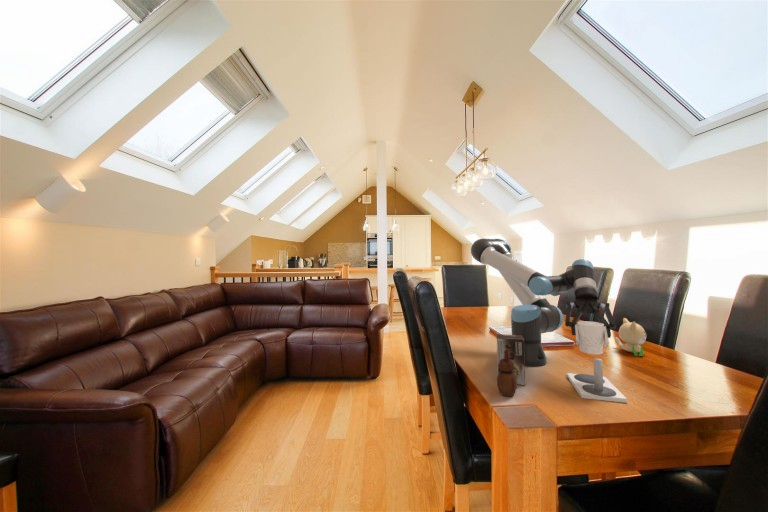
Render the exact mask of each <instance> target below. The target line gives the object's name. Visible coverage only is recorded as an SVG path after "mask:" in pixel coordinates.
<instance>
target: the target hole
mask: <svg viewBox="0 0 768 512" xmlns="http://www.w3.org/2000/svg"><path fill="white" fill-rule="evenodd" d="M576 374H577V375H575V376H574V378H575V379H577V380H579V381H581V382H584V383H589V384H594V374H588V373H576ZM603 383H605V380H604V379H603Z"/></svg>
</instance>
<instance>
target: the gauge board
mask: <svg viewBox="0 0 768 512" xmlns="http://www.w3.org/2000/svg"><path fill="white" fill-rule="evenodd" d="M603 362H604V361H603V359H601V358H597V357H595V358H593V375H594V384H589V383H584V382H581V381H579V380H577V379H575V378H574V376H575V375H577V374H578V373H570V372H566V377H567V378H569V379H568V380H569V382H570V383H571V385H572V386H573V387H574V389H575V391H576V392H577V394H578V395H579V396H580V398H581V399H588V400H598V401H607V402H615V403H626V404H628V398H627V397H626V396H625V395H624V394H623V393H622V392H621V391H620V390H619V389H618V388H617V387H616V386H615V385H614V384H613V383H612V382H611V381H610V380H609V379H608V378H607V377H606V376H604V367H603V366H604V363H603ZM603 379H604V380H605V383H603Z"/></svg>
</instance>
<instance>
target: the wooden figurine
mask: <svg viewBox="0 0 768 512" xmlns="http://www.w3.org/2000/svg"><path fill="white" fill-rule="evenodd" d="M499 368H500V370H501V371H499V373H498V372H497V376H496V377H497V378H496V383H497V388H498V392H499V393H500V394H501V395H502V396H505V397H512V396H514V395H515V394H516V390H517V386H518V385H517V379H516V375H515V373H514V372H513V370H514V363H513V361H512V360H510V359H508V350H506V352H505V355H504V359H501V360H500V362H499Z"/></svg>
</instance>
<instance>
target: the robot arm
mask: <svg viewBox="0 0 768 512" xmlns="http://www.w3.org/2000/svg"><path fill="white" fill-rule="evenodd" d="M511 250H512V248H511V245H510V244H509V243H508V241H506V240H504V239H501V238H479V239H477V240H475V241H474V242H473V243H472V245H471V247H470V253H471V256H472V258H473V259H474V260H475V261H476V262H479V263H480V264H482V265H485V266H486V265H488V266H489V267H490V266H491V267H492V268H493V269H495V270H497V271H498V272H499V273H500V275H501V277H503V279H504V280H505V282H506V283H507V284H508V286H509V287H510V289H511V290H512V292H513V293H514V295H515V296H516V298H517V299H518V301H520V303H521V304H520V305H516V306H513V307H512V309H511V311H510V320H511V335H522V336H523V339H524V355H525V366H526V365H527V366H528V367H541V366H544V365H546V364H547V356H546V352H545V350H544V347H543V345H542V334H546V333H552V332H555V331H557V330H559V329H560V328H561V327H562V326H563V322H565V324H564V325H565V327H568V328H570V331H571V335H572V336H575V345H576V346H580V343H579V336H578V326H577V322H579V321H580V318H581V316H582V315H583V314H593V316H594V317H596V319H597V320H598V322H599V323H603V324H604V345H605V346H604V347H605V348H609V345H610V344H609V339H611V337H612V333H611V330H614V331H615V329H616V326H617V325H616V321H615V318H614V317H613V314H612V312H611V309H610V306H611V305H610V303H609V302H606V303H601V302H600V300H599V294H598V289H597V282H596V276H595V269H594V265H593V263H592V262H591V261H590V260H588V259H584V258H583V259H581V258H579V259H576V260H574V261H573V262H572V264H571V269H569V270H567V271H565V272H563V273H561V274H559V275H548V276H547V275H546V274H542V273H540V272H539V271H537V270H534V269H533V268H532V267H528V266H527V265H525V264H523V263H521V262H519V261H517V260H515V259H513V254H512V251H511ZM571 290H573V291H574V302H573V301H572V302H571V301H566V302H565V303H566V306H565V307H566V313H565V315H566V316H565V321H564V315H563V311H562V310H561V309H560V308H559V307H558V306H556V305H553V304H550V302H549V301H548V300H547V298H546V297H543V296H547V295H551V296H553V297H558V296H560V295H564V294H565V293H568V292H569V291H571ZM574 307H575V309H577V311H576V313H575V315H574V316H573V318H572V320H571V314H572V309H573V308H574ZM600 308H601V309H602V310H603V311H604V314H605V316H606V318H607V319H605V317H604V316H603V314H602V312H600ZM527 366H526V367H527Z"/></svg>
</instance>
